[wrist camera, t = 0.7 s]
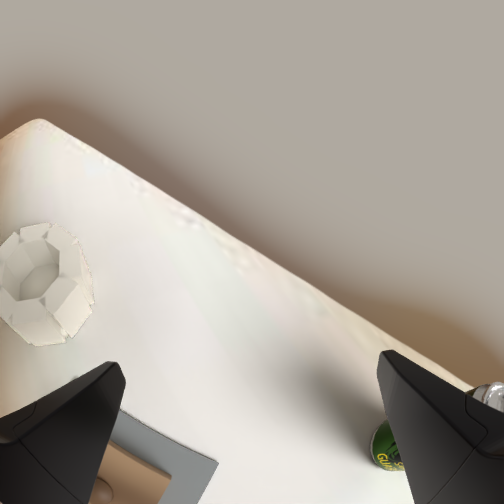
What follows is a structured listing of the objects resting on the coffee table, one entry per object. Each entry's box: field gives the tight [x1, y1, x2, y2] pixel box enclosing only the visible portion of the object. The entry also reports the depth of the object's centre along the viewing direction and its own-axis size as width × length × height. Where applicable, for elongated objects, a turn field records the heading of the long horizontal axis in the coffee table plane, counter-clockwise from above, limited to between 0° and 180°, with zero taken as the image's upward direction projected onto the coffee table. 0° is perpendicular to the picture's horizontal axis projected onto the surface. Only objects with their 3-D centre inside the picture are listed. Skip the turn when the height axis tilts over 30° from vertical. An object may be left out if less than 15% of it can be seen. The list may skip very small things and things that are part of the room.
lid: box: [89, 439, 172, 504], centre depth 12 cm, size 7×7×3 cm
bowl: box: [0, 222, 94, 347], centre depth 19 cm, size 9×9×4 cm
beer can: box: [370, 382, 504, 471], centre depth 15 cm, size 5×5×12 cm
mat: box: [110, 410, 219, 504], centre depth 13 cm, size 12×12×1 cm
